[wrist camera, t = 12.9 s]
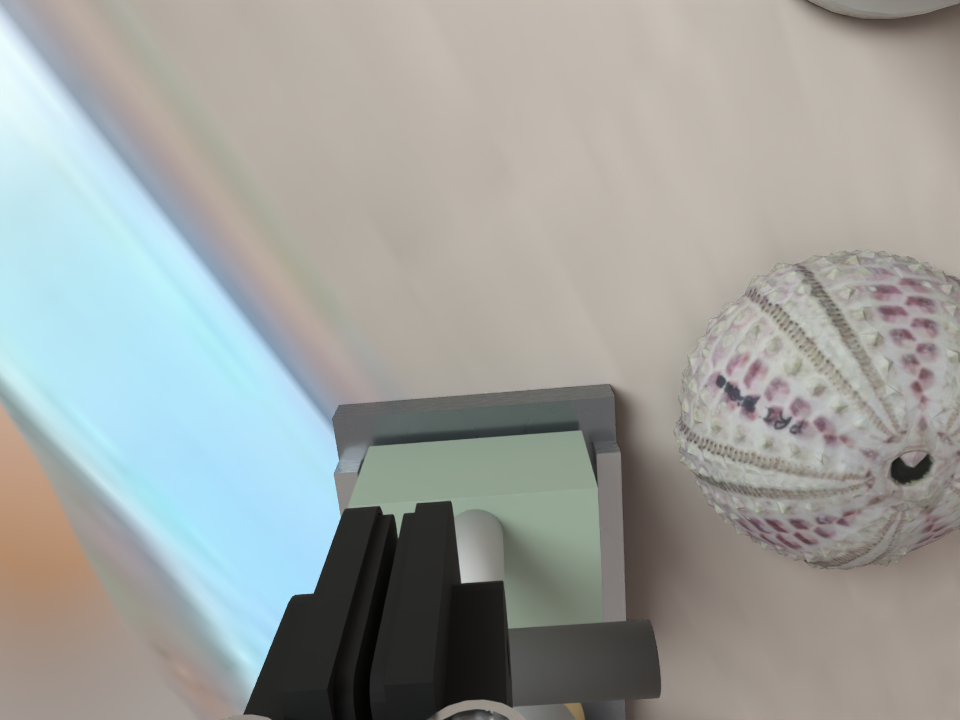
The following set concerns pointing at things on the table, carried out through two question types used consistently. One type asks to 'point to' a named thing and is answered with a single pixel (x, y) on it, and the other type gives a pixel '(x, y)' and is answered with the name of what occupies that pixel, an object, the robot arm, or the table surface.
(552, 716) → the can
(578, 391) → the base
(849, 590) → the table surface
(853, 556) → the sea urchin shell
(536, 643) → the grey-green handled block
